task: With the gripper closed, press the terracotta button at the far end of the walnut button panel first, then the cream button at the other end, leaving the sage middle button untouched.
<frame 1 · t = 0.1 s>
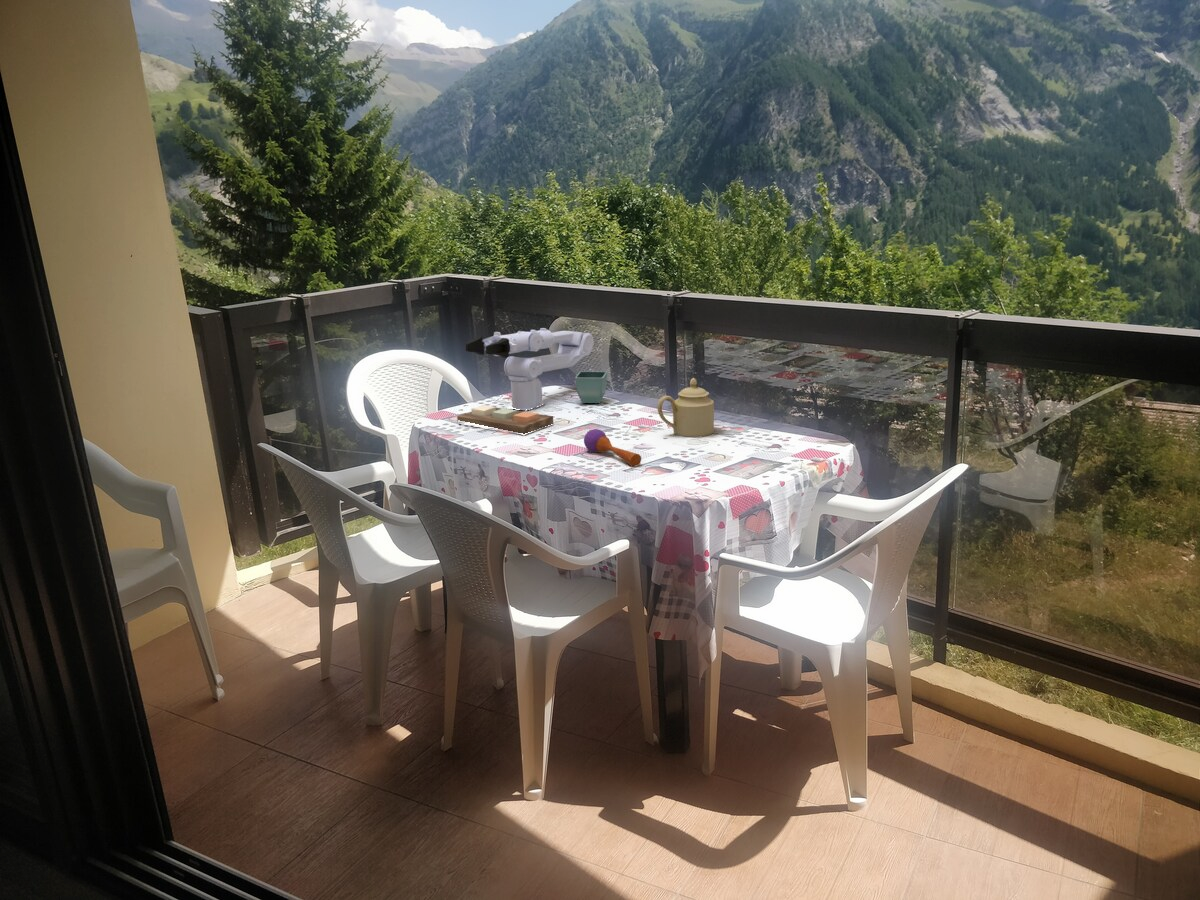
hand: (476, 348, 271), 22 cm above the table, tool horizontal, fingers open, 7 cm apart
button panel: (505, 424, 274), on the table
flower pot: (592, 403, 295), on the table
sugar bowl: (689, 434, 258), on the table
sage button: (504, 415, 273), point 3 cm above the table, slide at 0.0 cm
terracotta button: (526, 418, 268), point 3 cm above the table, slide at 0.0 cm
cream button: (483, 412, 277), point 3 cm above the table, slide at 0.0 cm
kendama: (612, 458, 240), on the table
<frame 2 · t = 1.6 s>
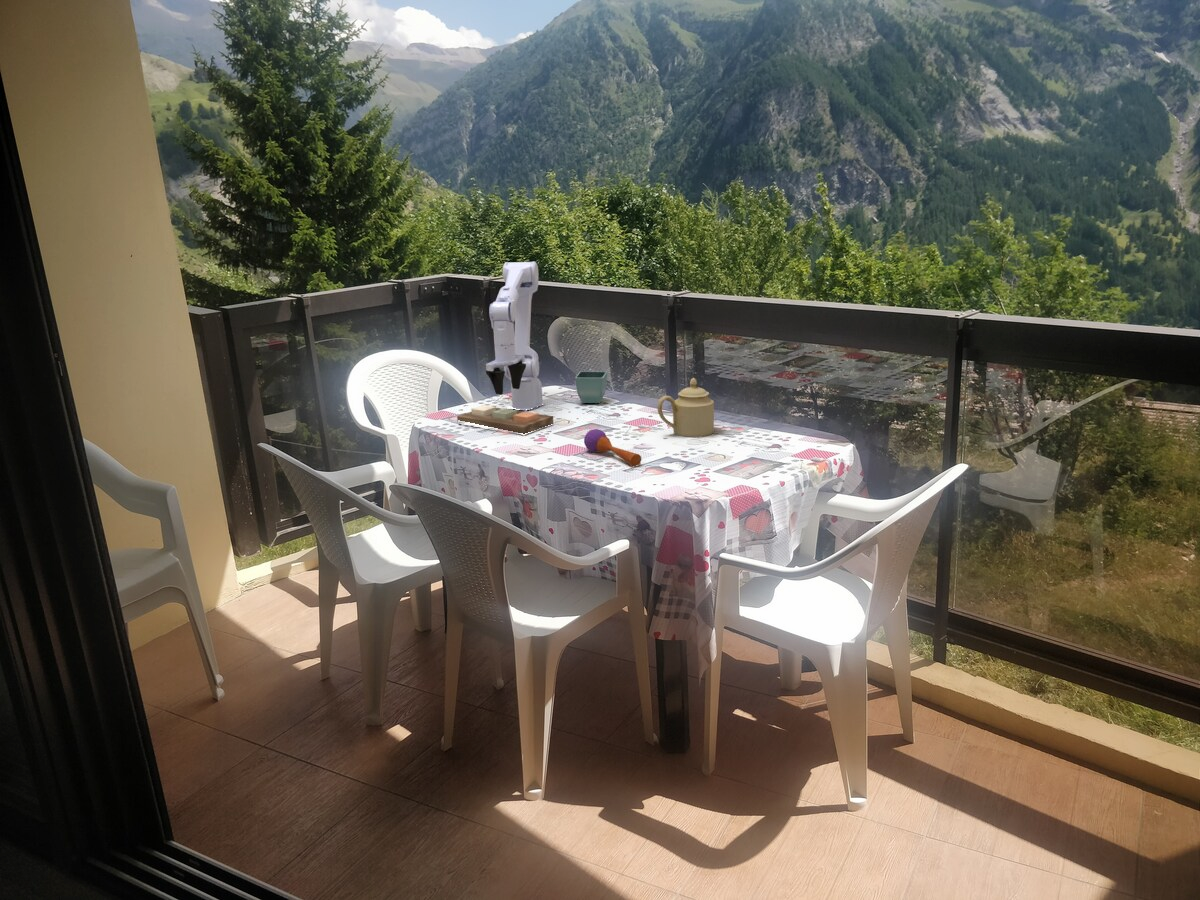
hand: (507, 391, 272), 9 cm above the table, tool pointing down, fingers open, 7 cm apart
nothing on the table moved.
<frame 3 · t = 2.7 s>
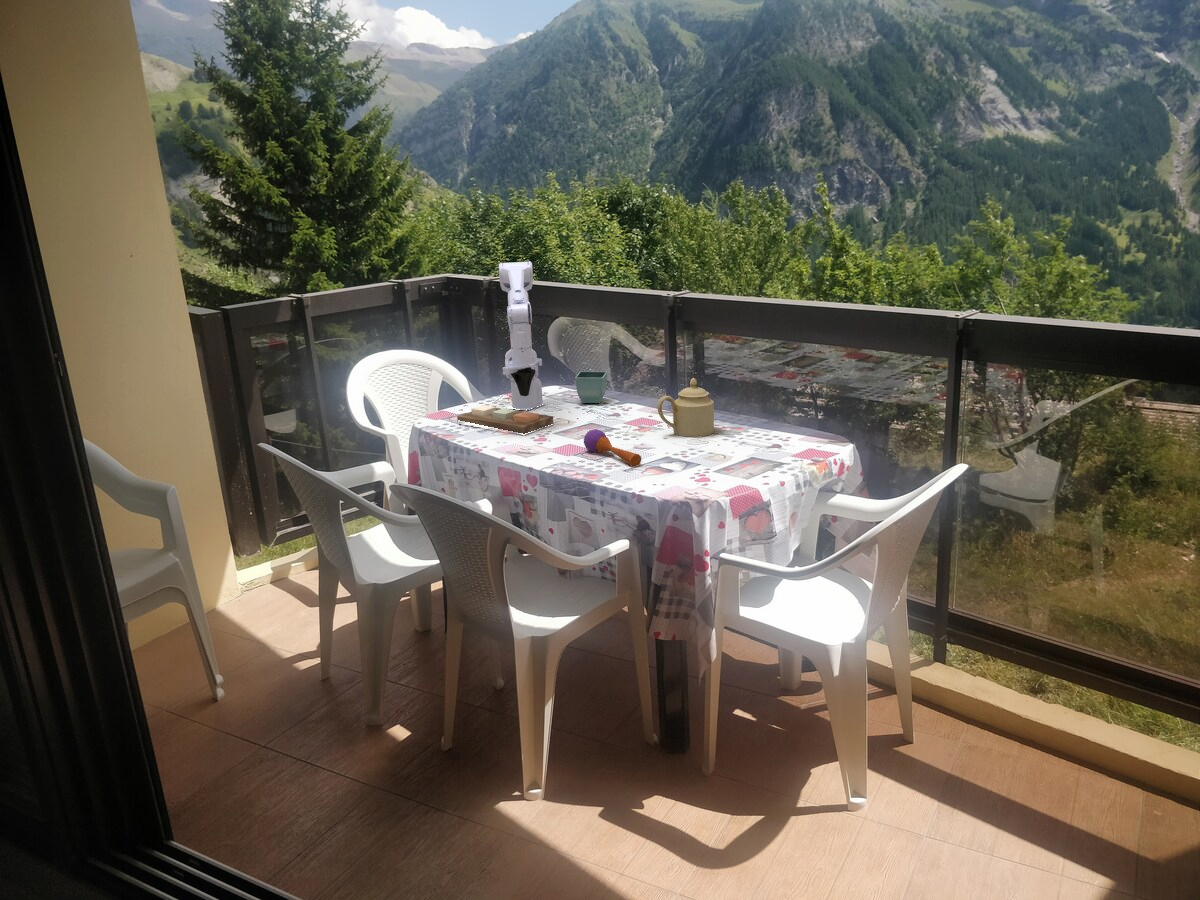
hand: (524, 395, 266), 9 cm above the table, tool pointing down, fingers closed
nothing on the table moved.
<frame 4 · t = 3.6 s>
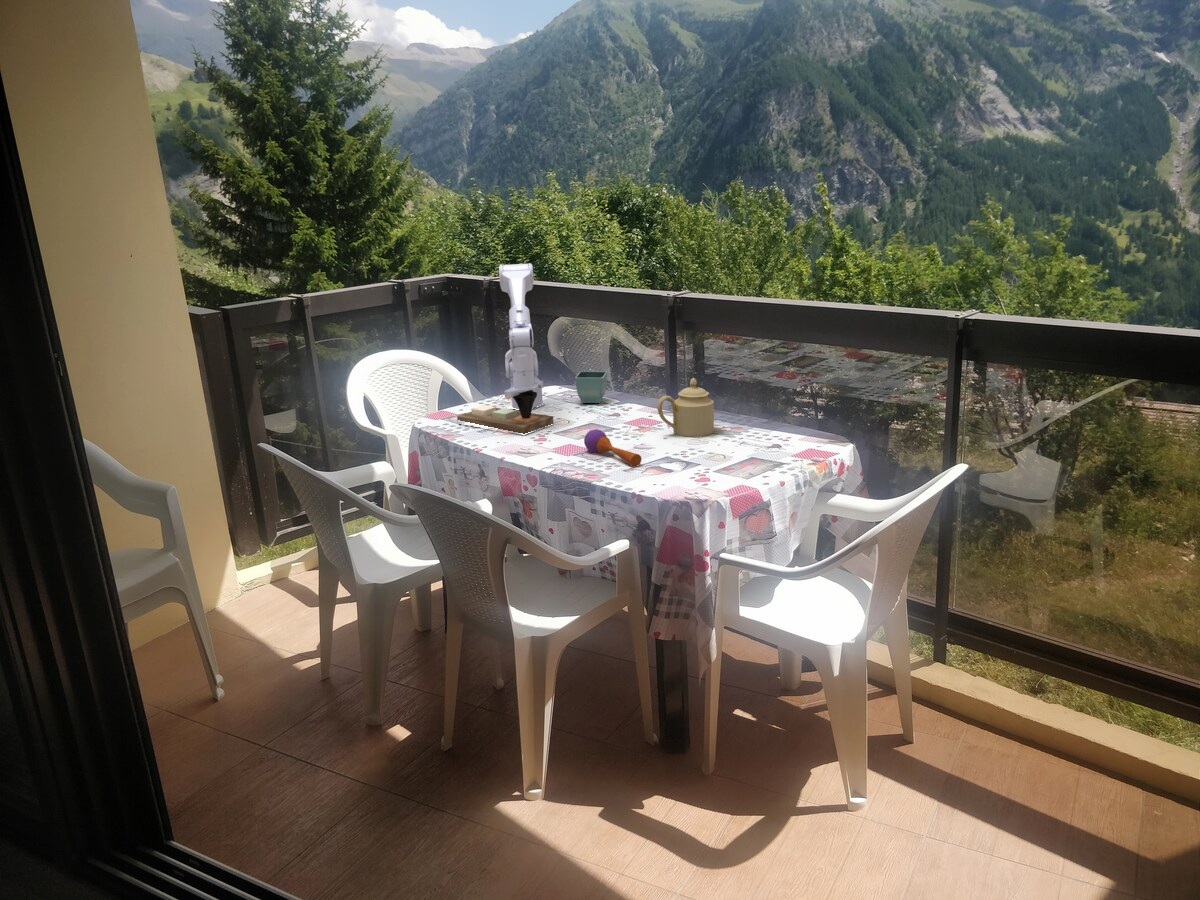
hand: (526, 417, 268), 3 cm above the table, tool pointing down, fingers closed, pressing on terracotta button
terracotta button: (526, 421, 269), point 2 cm above the table, slide at 0.9 cm, touching gripper
everything else where it was.
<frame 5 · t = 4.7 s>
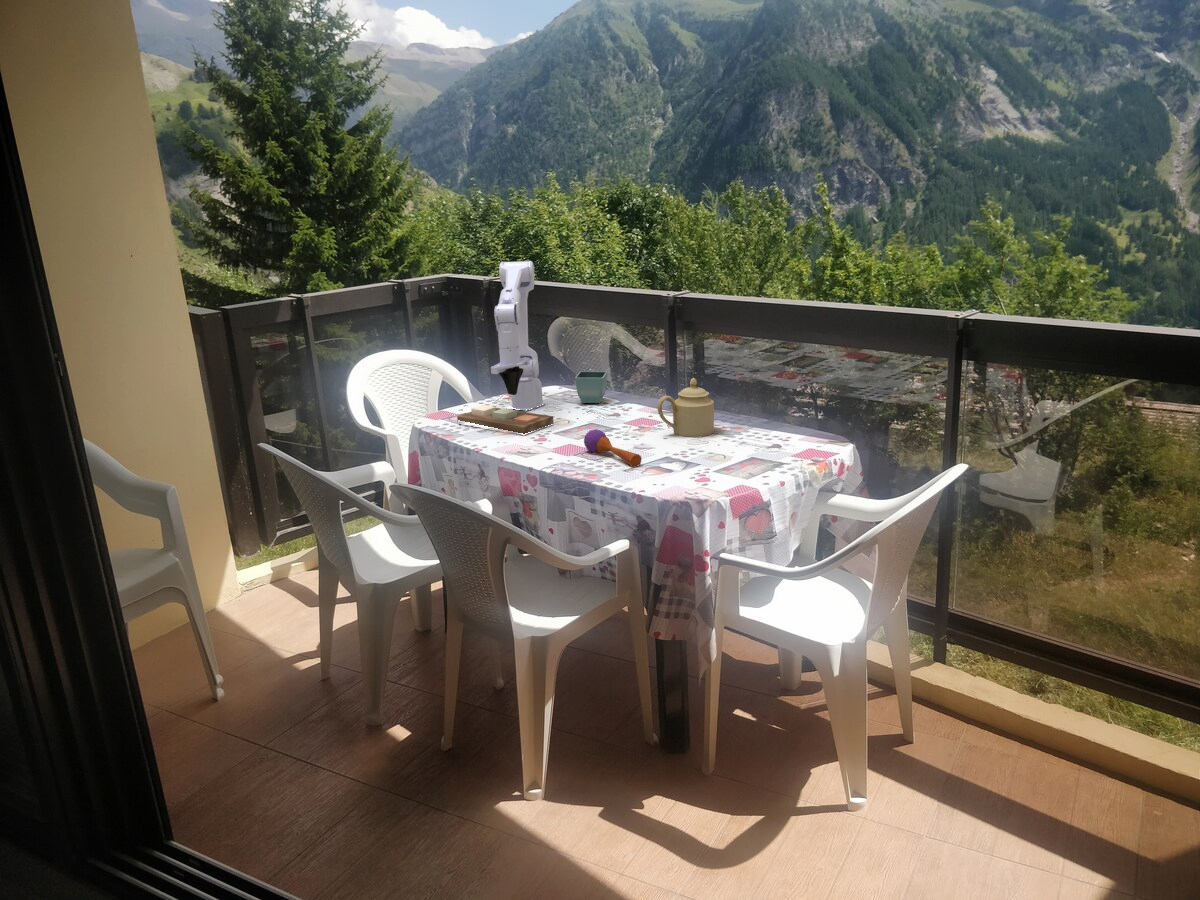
hand: (512, 394, 269), 9 cm above the table, tool pointing down, fingers closed
terracotta button: (526, 421, 269), point 2 cm above the table, slide at 0.9 cm
everything else where it was.
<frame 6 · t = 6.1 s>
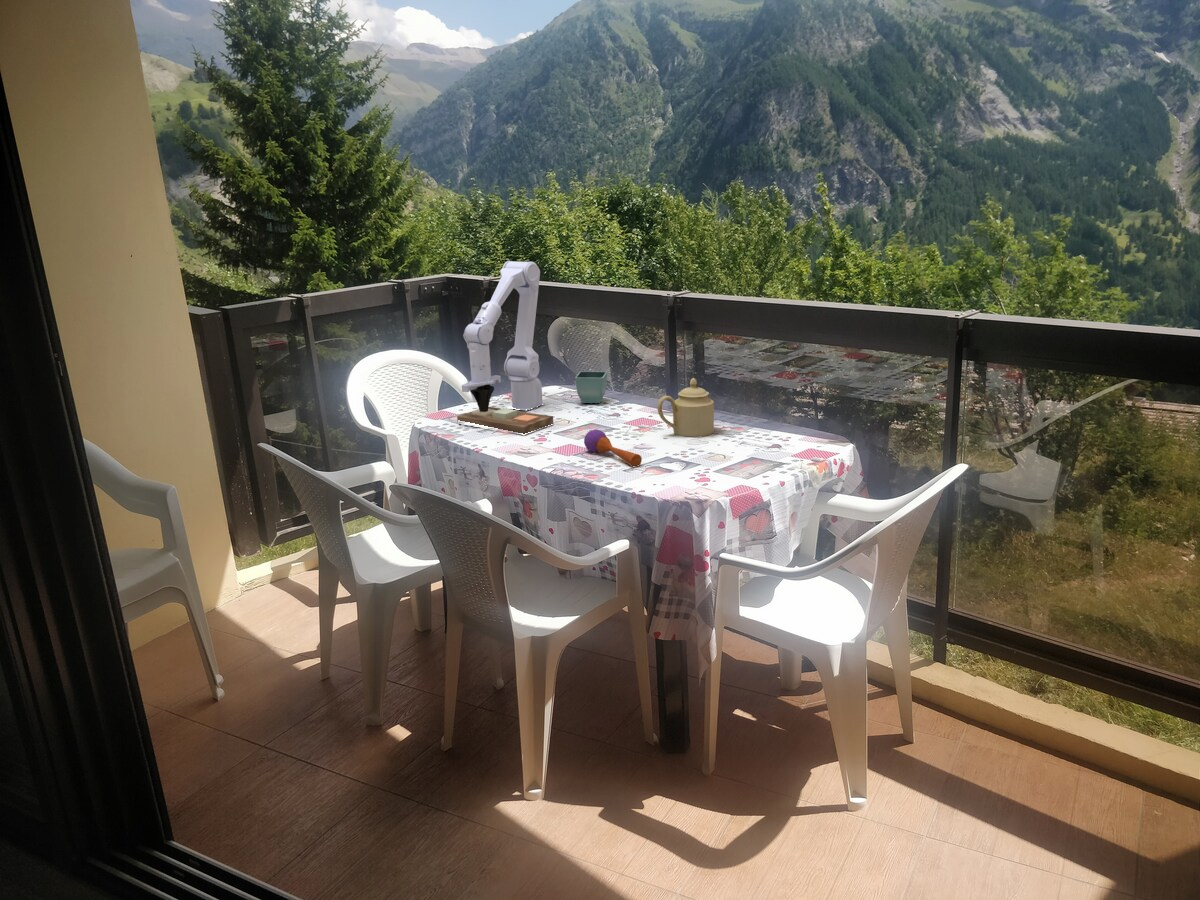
hand: (483, 411, 277), 3 cm above the table, tool pointing down, fingers closed, pressing on cream button
cream button: (484, 415, 278), point 2 cm above the table, slide at 0.9 cm, touching gripper
everything else where it was.
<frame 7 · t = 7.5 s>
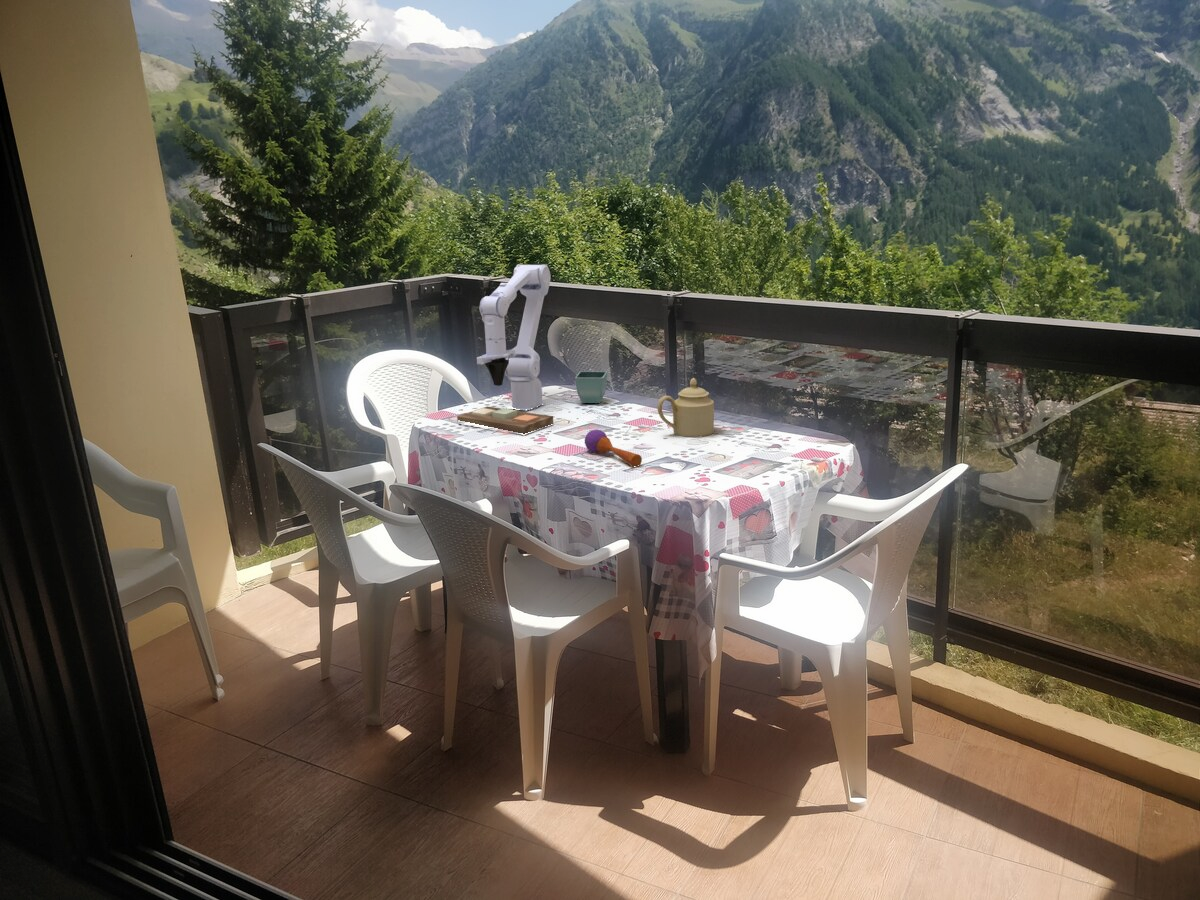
hand: (498, 385, 276), 10 cm above the table, tool pointing down, fingers closed
cream button: (484, 415, 278), point 2 cm above the table, slide at 0.9 cm
everything else where it was.
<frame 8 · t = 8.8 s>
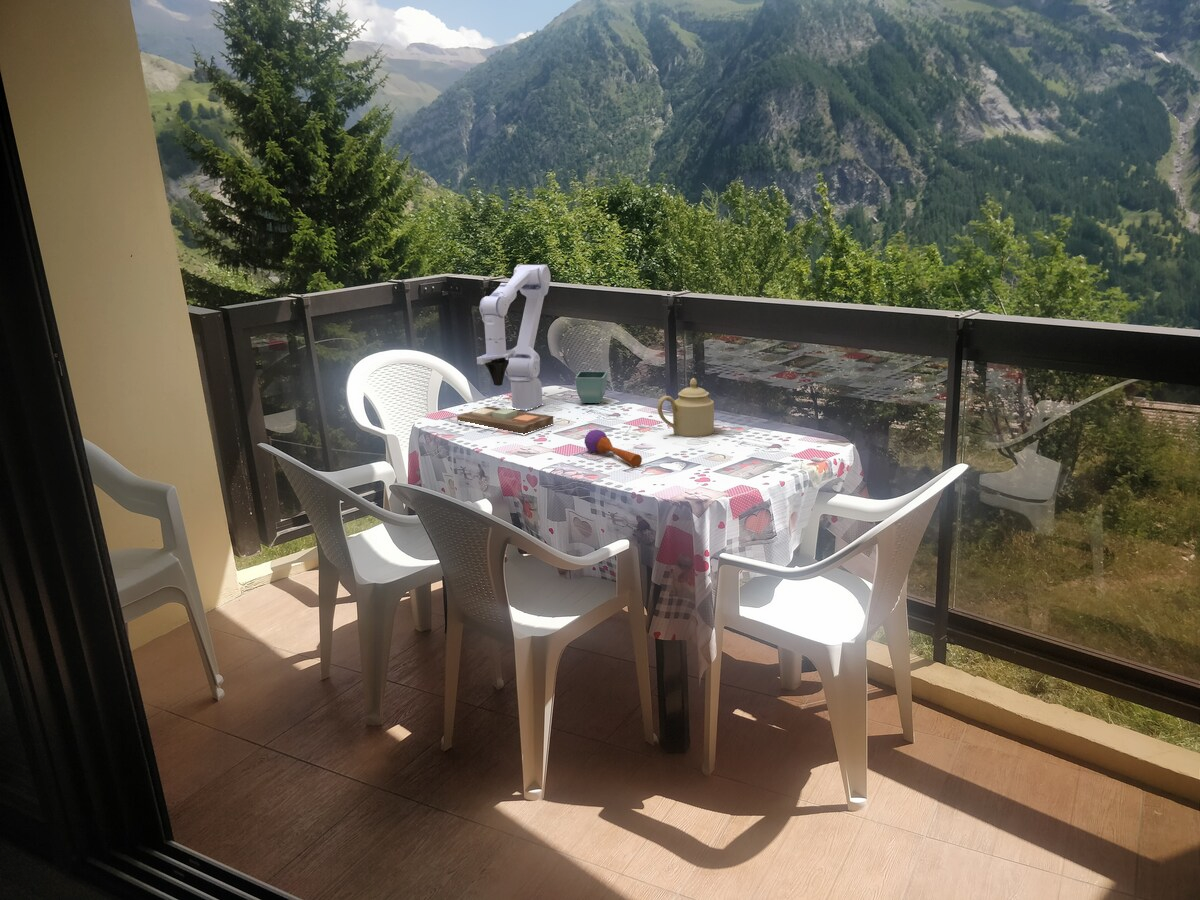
hand: (498, 385, 276), 10 cm above the table, tool pointing down, fingers closed
nothing on the table moved.
at the end: terracotta button slide at 0.9 cm; cream button slide at 0.9 cm; sage button slide at 0.0 cm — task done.
